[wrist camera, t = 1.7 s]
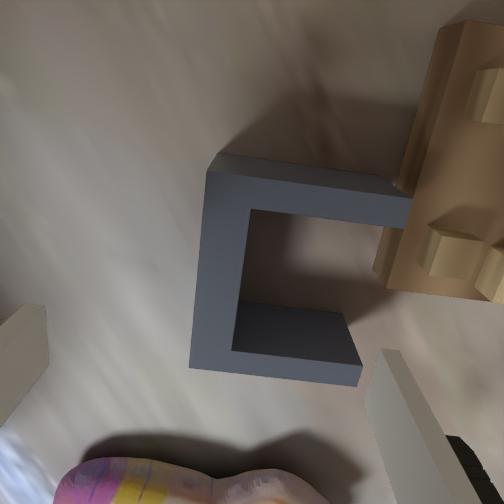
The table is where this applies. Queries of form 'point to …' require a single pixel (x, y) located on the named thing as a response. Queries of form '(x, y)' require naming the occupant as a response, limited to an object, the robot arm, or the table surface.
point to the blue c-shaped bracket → (232, 257)
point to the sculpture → (177, 485)
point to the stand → (454, 174)
